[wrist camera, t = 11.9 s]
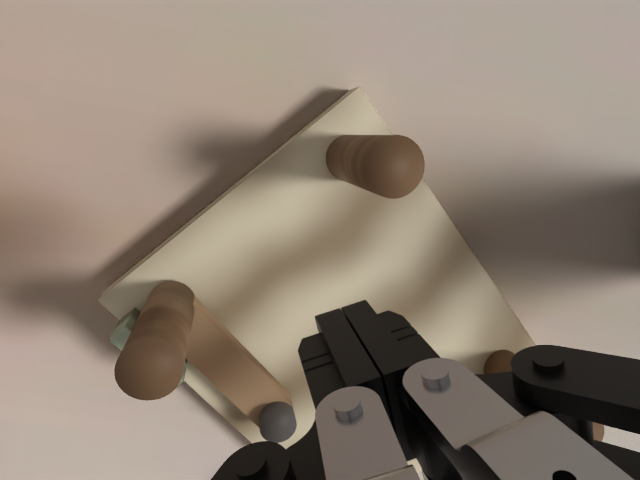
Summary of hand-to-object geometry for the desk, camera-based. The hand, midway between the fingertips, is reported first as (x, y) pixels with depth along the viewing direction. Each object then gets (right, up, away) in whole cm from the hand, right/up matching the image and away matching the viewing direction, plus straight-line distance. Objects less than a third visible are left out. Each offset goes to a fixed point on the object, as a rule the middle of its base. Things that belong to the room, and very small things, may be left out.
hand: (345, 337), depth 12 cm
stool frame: (+1, -3, +16) cm, 16 cm away
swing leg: (-6, -4, +12) cm, 14 cm away
